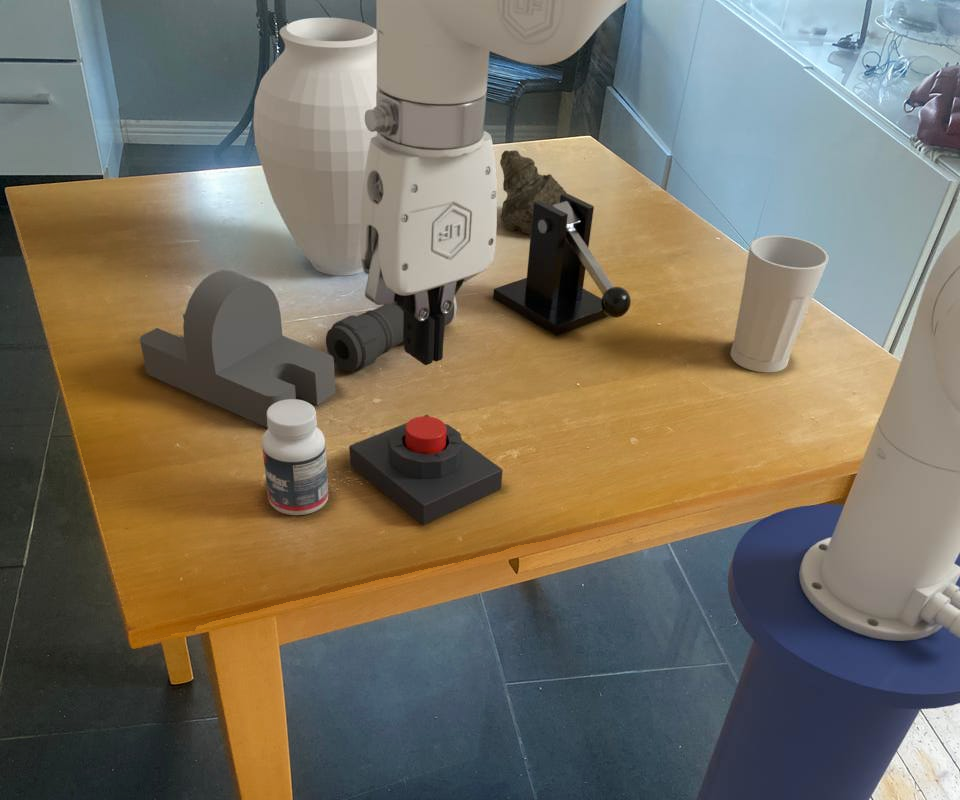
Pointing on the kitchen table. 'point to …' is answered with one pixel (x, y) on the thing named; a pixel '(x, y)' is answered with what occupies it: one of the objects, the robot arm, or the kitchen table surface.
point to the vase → (319, 136)
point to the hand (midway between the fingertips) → (423, 355)
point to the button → (425, 435)
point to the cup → (775, 300)
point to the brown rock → (525, 190)
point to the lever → (594, 267)
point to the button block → (425, 473)
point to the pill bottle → (294, 458)
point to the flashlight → (369, 336)
